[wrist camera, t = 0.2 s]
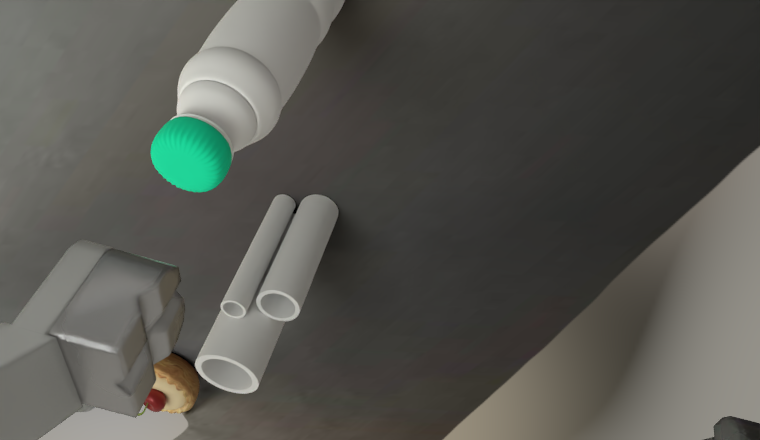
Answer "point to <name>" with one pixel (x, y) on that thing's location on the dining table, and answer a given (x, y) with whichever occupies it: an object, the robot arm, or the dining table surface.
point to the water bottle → (238, 86)
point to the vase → (266, 291)
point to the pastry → (173, 386)
